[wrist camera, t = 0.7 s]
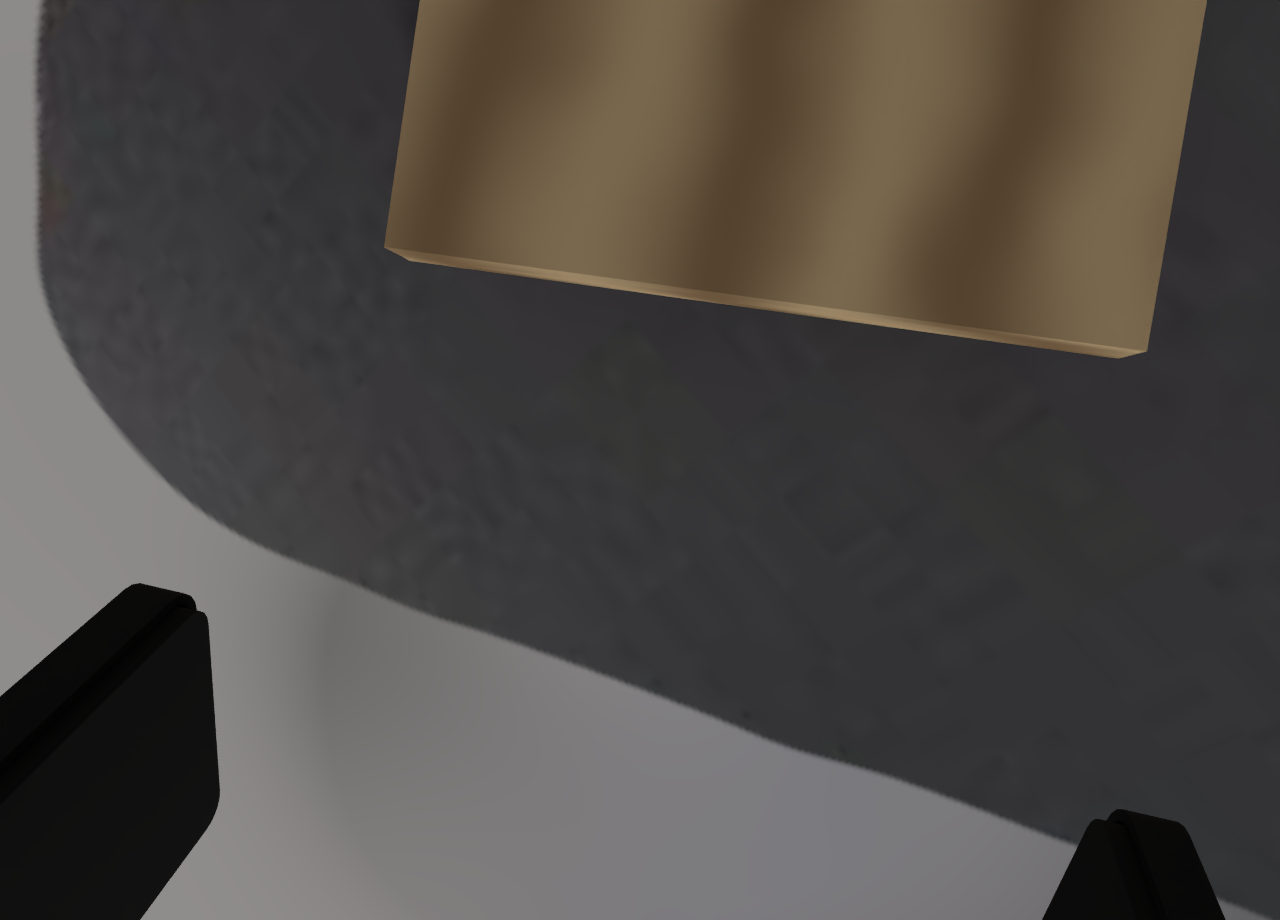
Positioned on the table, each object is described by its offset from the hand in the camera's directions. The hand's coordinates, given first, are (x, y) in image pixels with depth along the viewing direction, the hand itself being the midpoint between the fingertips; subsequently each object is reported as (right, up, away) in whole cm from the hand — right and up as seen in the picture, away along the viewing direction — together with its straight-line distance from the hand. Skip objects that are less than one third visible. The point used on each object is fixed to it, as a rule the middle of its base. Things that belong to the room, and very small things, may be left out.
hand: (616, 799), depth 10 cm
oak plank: (+4, +12, +17) cm, 22 cm away
